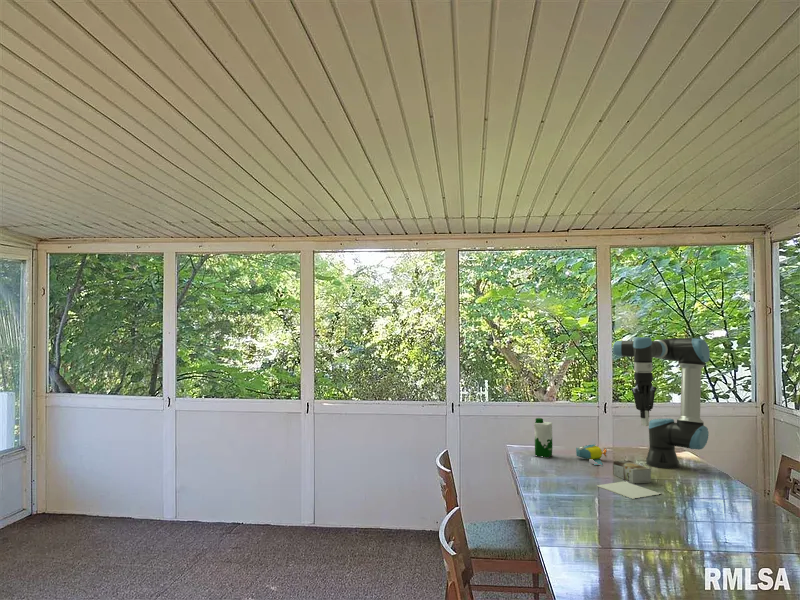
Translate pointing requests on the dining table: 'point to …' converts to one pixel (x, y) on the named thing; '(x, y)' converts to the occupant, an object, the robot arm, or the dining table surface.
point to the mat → (628, 489)
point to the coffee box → (632, 472)
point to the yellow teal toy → (591, 453)
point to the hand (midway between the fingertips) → (645, 425)
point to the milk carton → (543, 438)
